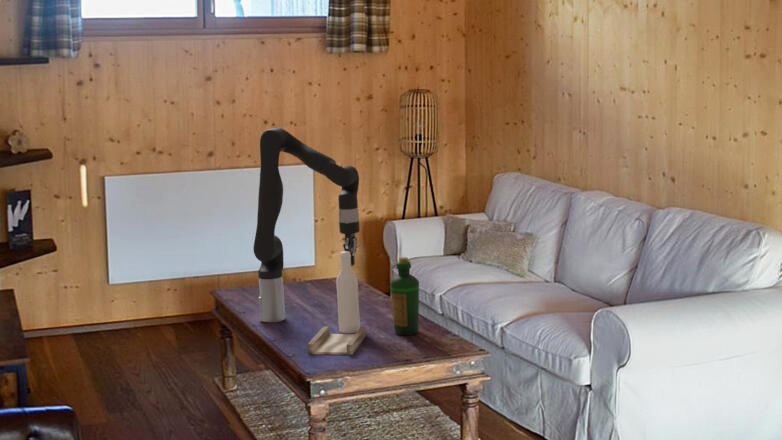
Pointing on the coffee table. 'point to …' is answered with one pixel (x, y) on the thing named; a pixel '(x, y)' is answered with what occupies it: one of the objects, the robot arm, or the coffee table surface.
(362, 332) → the cradle
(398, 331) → the bottle
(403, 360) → the coffee table surface
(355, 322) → the bottle
